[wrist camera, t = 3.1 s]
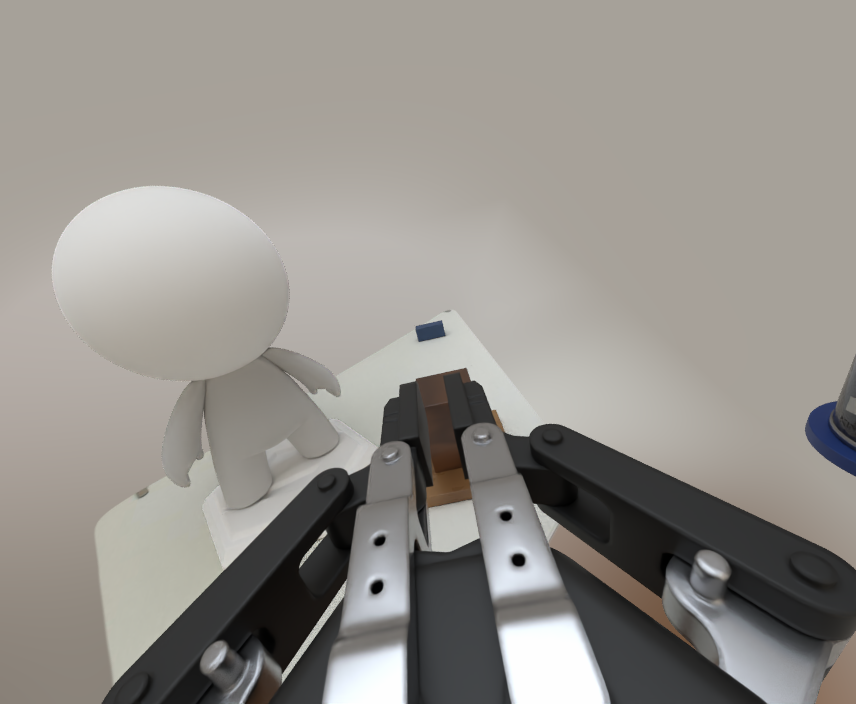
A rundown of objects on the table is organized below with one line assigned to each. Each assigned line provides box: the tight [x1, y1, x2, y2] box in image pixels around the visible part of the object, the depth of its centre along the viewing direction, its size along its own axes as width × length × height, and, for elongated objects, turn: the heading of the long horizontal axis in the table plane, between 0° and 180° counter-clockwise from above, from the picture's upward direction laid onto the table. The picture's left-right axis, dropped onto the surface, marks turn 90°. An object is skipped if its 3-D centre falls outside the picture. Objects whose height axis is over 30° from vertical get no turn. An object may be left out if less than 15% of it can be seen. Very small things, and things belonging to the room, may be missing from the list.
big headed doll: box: [52, 186, 378, 570], centre depth 36 cm, size 20×23×35 cm
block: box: [416, 368, 505, 507], centre depth 39 cm, size 12×12×10 cm
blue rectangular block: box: [416, 320, 445, 342], centre depth 74 cm, size 6×2×3 cm, turn 93°
